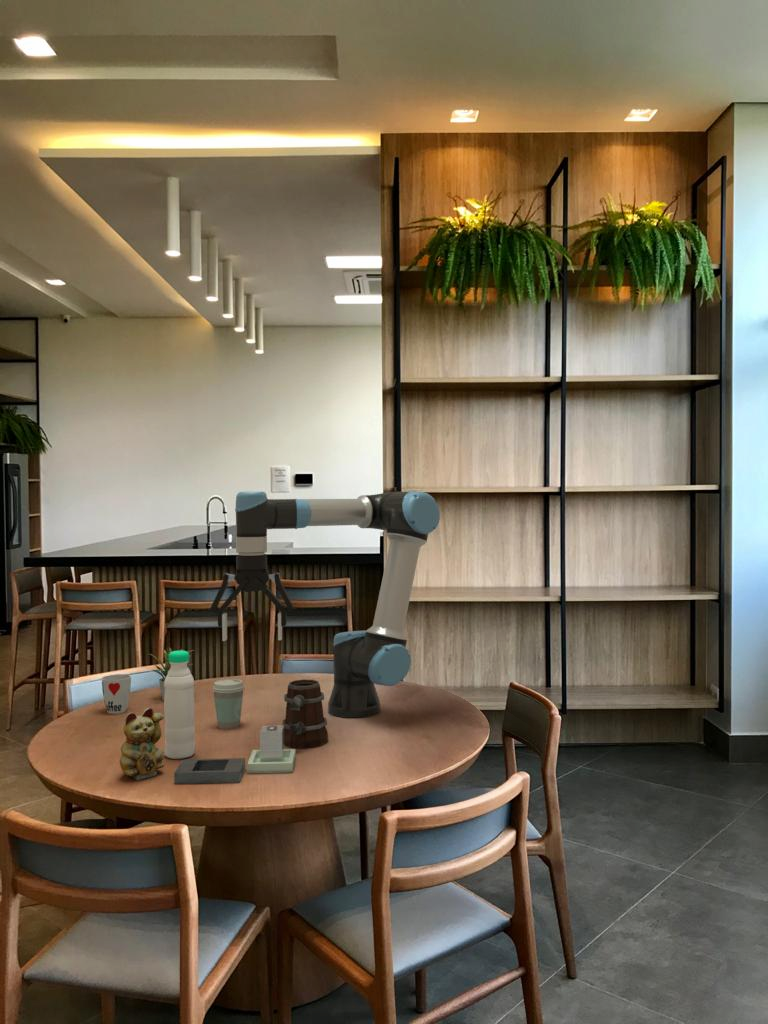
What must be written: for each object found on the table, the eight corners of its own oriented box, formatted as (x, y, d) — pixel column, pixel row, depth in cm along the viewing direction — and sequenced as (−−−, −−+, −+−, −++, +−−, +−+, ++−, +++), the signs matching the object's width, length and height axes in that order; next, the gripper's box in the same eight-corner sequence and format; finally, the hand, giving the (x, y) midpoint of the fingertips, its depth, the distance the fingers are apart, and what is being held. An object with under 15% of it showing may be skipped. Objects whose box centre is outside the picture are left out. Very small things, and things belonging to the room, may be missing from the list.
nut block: (284, 759, 186) (283, 724, 186) (282, 766, 181) (282, 730, 181) (262, 759, 186) (262, 724, 186) (260, 767, 181) (259, 730, 181)
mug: (289, 733, 208) (288, 676, 208) (333, 736, 206) (333, 678, 206) (269, 752, 193) (268, 691, 193) (317, 755, 191) (317, 693, 190)
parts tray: (295, 758, 189) (295, 749, 189) (292, 772, 179) (292, 763, 179) (253, 759, 188) (253, 749, 188) (247, 773, 178) (247, 764, 178)
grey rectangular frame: (245, 768, 182) (245, 758, 182) (239, 782, 173) (239, 771, 173) (183, 769, 181) (183, 759, 181) (174, 783, 172) (174, 772, 172)
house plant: (208, 697, 247) (207, 645, 247) (174, 707, 235) (174, 652, 235) (176, 691, 255) (175, 640, 254) (141, 701, 243) (141, 647, 243)
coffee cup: (237, 731, 211) (237, 686, 210) (207, 729, 212) (207, 685, 212) (249, 722, 219) (249, 679, 219) (220, 720, 221) (220, 677, 221)
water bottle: (179, 761, 187) (178, 655, 186) (158, 756, 190) (157, 652, 190) (201, 753, 193) (200, 650, 192) (180, 748, 196) (179, 647, 196)
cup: (95, 713, 229) (95, 679, 229) (115, 706, 237) (114, 673, 236) (118, 716, 226) (118, 681, 226) (137, 709, 234) (137, 675, 233)
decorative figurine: (130, 784, 172) (129, 715, 172) (110, 776, 177) (110, 709, 177) (169, 773, 179) (168, 706, 179) (149, 764, 185) (148, 700, 184)
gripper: (303, 552, 200) (304, 636, 201) (203, 553, 200) (204, 637, 200) (301, 554, 193) (302, 641, 193) (197, 555, 192) (198, 643, 192)
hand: (252, 639), depth 197 cm, fingers open, 13 cm apart
